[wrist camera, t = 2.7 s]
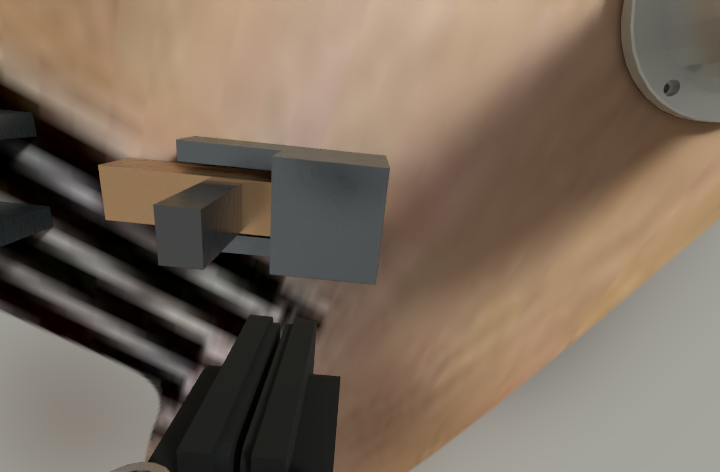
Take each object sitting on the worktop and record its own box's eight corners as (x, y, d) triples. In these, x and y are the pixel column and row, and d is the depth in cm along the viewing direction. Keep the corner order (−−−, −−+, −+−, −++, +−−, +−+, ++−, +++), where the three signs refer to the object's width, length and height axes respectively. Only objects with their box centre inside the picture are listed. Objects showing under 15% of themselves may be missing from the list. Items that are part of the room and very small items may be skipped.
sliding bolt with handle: (382, 183, 24) (389, 224, 16) (377, 230, 25) (380, 291, 17) (130, 157, 24) (8, 185, 16) (135, 206, 25) (24, 255, 17)
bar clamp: (386, 149, 23) (391, 161, 19) (373, 258, 26) (374, 294, 21) (-55, 103, 23) (-168, 104, 18) (-25, 218, 26) (-119, 245, 21)
